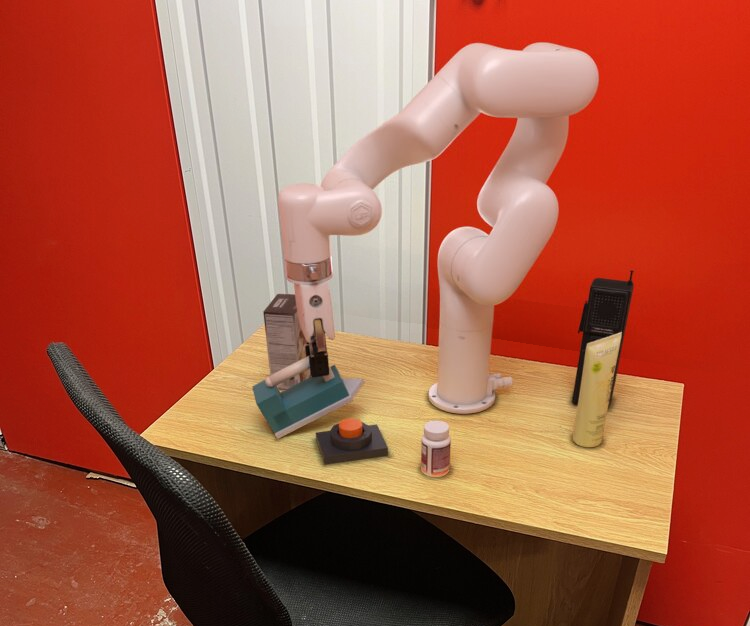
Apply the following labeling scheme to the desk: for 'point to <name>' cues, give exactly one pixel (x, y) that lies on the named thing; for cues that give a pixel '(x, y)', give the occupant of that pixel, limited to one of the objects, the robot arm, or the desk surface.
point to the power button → (350, 428)
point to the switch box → (351, 445)
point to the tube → (595, 390)
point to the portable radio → (603, 320)
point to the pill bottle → (435, 449)
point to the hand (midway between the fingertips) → (318, 369)
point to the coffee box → (284, 337)
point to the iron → (302, 397)
